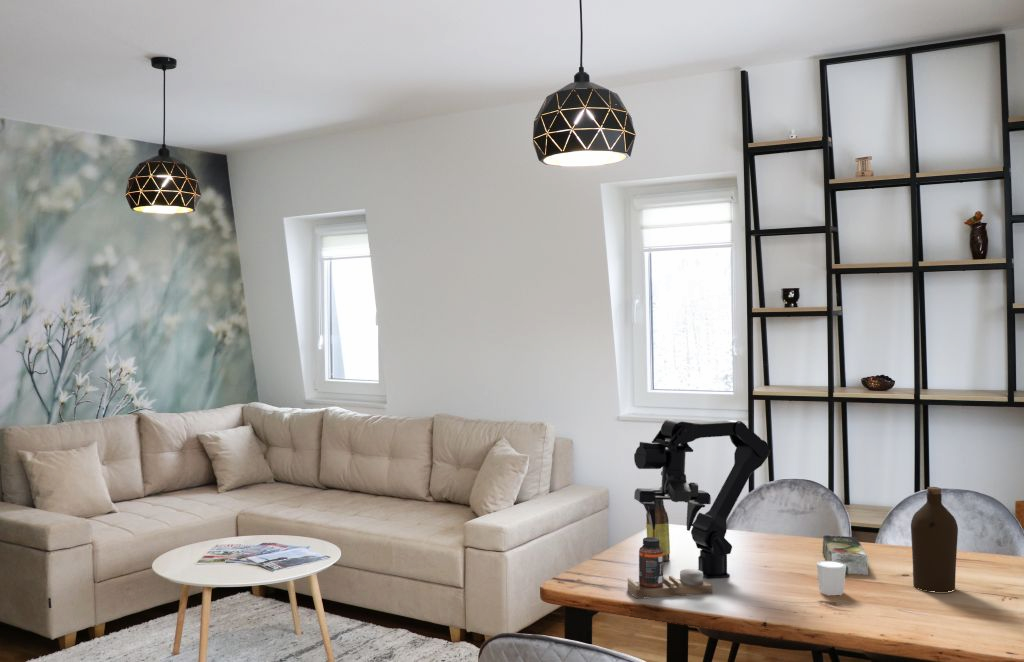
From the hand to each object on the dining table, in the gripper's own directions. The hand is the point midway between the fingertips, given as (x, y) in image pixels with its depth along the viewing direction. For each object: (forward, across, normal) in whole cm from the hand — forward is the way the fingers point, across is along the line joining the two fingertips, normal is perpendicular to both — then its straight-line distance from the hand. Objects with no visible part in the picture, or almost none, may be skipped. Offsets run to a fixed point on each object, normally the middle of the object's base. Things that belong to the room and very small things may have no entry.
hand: (670, 530), depth 226 cm
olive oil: (+10, +64, -14) cm, 66 cm away
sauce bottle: (+12, +3, +21) cm, 24 cm away
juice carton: (+10, +52, +9) cm, 54 cm away
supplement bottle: (+12, -7, -8) cm, 16 cm away
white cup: (+12, +37, -14) cm, 41 cm away
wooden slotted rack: (+14, -2, -8) cm, 16 cm away
